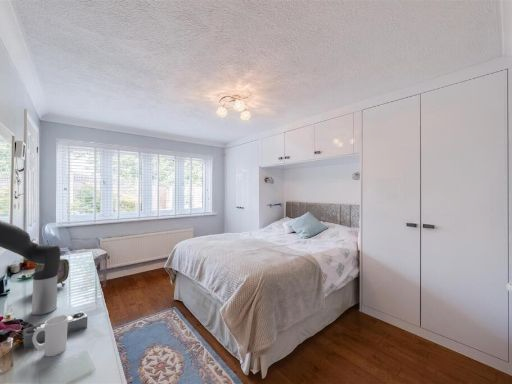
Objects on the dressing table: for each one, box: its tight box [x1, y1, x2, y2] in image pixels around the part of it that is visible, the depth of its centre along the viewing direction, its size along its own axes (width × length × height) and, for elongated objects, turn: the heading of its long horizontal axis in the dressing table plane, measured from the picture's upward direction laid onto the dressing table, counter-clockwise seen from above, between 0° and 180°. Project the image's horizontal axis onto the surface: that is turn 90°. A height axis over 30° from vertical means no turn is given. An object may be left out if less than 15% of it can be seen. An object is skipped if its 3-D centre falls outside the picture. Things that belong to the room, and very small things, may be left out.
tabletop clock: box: [33, 258, 70, 287], centre depth 142 cm, size 14×9×25 cm, turn 168°
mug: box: [32, 314, 68, 357], centre depth 88 cm, size 10×7×12 cm, turn 130°
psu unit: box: [22, 310, 88, 350], centre depth 99 cm, size 7×20×5 cm, turn 140°
